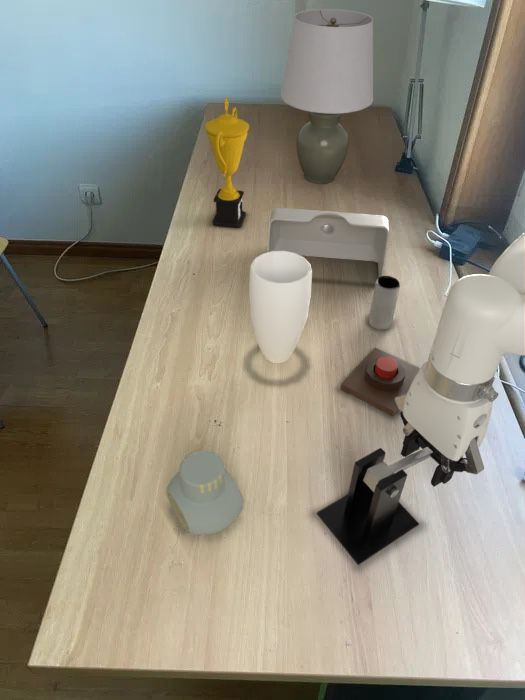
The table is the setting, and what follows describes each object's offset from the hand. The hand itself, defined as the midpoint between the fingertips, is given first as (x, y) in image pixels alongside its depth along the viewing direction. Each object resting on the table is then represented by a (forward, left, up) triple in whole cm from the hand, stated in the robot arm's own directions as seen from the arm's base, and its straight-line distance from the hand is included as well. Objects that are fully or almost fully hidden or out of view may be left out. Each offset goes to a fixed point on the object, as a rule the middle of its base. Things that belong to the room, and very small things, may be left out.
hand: (424, 465), depth 79 cm
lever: (+5, 0, +3) cm, 6 cm away
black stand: (+9, 0, -7) cm, 12 cm away
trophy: (-17, -82, -7) cm, 84 cm away
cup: (+2, -33, -7) cm, 34 cm away
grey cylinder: (-22, -32, -7) cm, 39 cm away
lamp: (-52, -91, -7) cm, 105 cm away
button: (-11, -19, -3) cm, 22 cm away
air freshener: (+27, -14, -7) cm, 32 cm away
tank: (-26, -55, -7) cm, 61 cm away
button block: (-11, -19, -7) cm, 23 cm away
